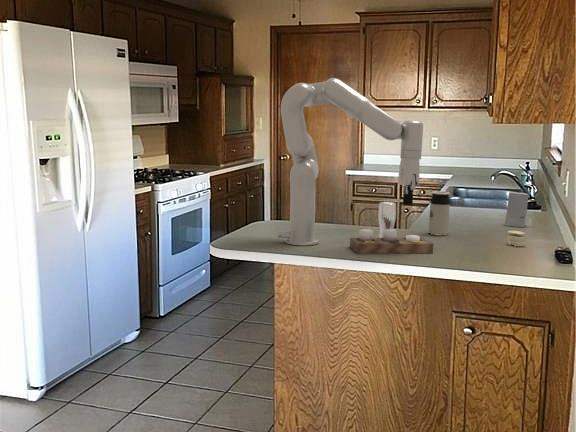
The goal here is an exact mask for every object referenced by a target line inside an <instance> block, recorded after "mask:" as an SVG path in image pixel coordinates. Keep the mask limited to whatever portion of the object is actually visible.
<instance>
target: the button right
mask: <svg viewBox="0 0 576 432" xmlns="http://www.w3.org/2000/svg"><path fill="white" fill-rule="evenodd" d="M405 238H406V240H407V241H420V238H421V237H420V235H416V234H408V235H405Z"/></svg>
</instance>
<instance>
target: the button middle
mask: <svg viewBox="0 0 576 432" xmlns="http://www.w3.org/2000/svg"><path fill="white" fill-rule="evenodd" d="M397 234H398V231H397V229H394V228H393V229H384V230H383V241H396V238H398V237H397V236H398V235H397Z"/></svg>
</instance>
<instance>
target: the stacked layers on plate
mask: <svg viewBox="0 0 576 432" xmlns="http://www.w3.org/2000/svg"><path fill="white" fill-rule="evenodd" d="M507 233H509V234H506V235H507V239H506V242H507V245H508V244H513V245H516V246H523V247H525V243H526V241H525V240H526V239H525V238H526V236H525V235H526V232H524V231H520V230H508V231H507ZM523 234H525V235H523ZM516 246H515V247H516Z"/></svg>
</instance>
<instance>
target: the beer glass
mask: <svg viewBox="0 0 576 432" xmlns="http://www.w3.org/2000/svg"><path fill="white" fill-rule="evenodd" d="M378 204H379V205H378V212H377V213H378V214H377V216H378V227H379V234H378V238H383V230H384V229H393V230H394V227H395V223H396V219H397V202H391V201H381V202H378Z"/></svg>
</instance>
